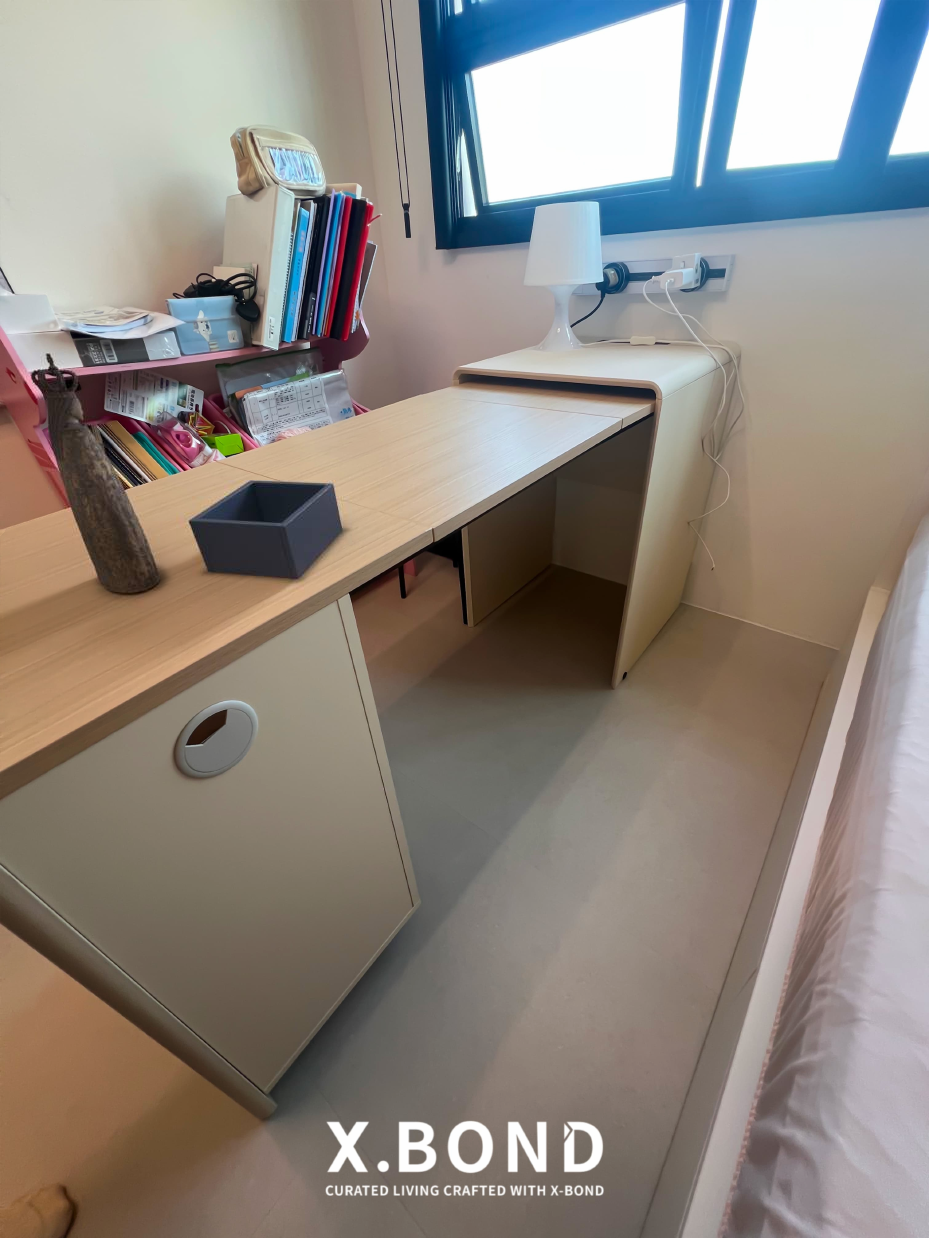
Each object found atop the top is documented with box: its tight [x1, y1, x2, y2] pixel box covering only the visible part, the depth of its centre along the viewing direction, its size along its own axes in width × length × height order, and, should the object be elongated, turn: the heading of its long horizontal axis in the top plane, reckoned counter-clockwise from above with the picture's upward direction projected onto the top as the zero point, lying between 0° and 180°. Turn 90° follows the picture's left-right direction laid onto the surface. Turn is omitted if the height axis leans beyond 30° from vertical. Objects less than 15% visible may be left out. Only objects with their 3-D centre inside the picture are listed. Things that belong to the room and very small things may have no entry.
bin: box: [188, 479, 344, 580], centre depth 66 cm, size 13×14×7 cm
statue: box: [30, 352, 161, 594], centre depth 56 cm, size 9×8×25 cm
